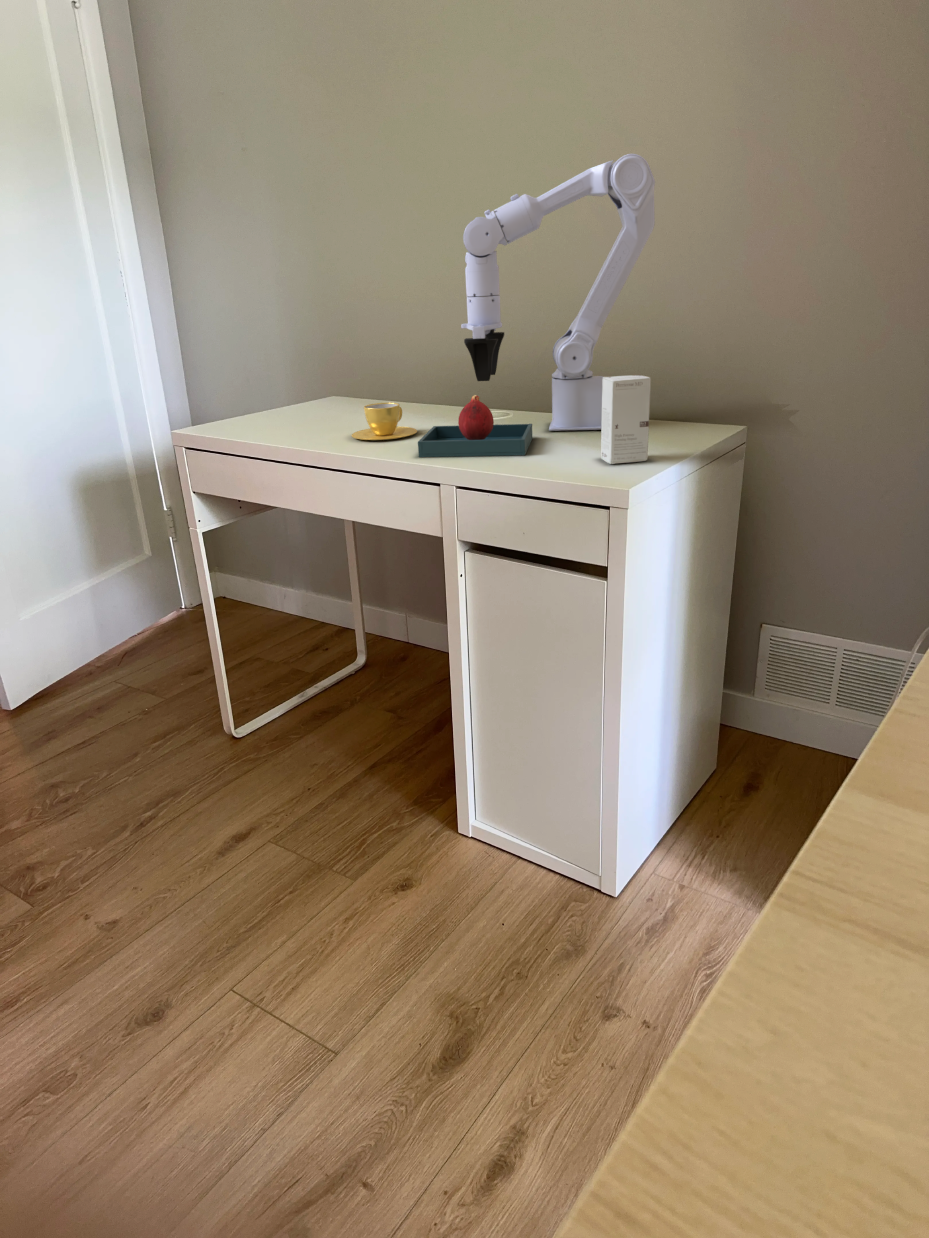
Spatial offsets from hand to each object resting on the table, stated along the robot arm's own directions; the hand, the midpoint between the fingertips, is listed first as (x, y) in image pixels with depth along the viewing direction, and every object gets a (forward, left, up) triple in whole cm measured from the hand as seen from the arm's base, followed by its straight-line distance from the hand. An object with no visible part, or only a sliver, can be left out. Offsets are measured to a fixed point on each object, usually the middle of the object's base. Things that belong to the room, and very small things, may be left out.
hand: (486, 377), depth 151 cm
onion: (0, +14, -9) cm, 17 cm away
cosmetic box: (-24, +25, -10) cm, 36 cm away
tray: (0, +14, -9) cm, 17 cm away
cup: (+19, +2, -10) cm, 21 cm away
